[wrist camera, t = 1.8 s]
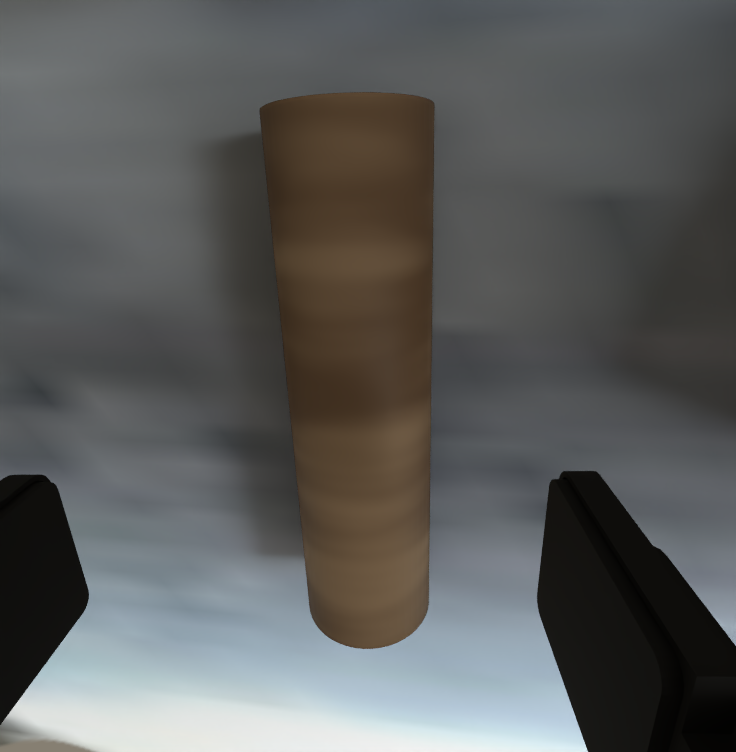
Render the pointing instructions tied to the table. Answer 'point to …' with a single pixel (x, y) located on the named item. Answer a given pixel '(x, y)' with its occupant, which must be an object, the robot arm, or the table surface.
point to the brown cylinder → (357, 348)
